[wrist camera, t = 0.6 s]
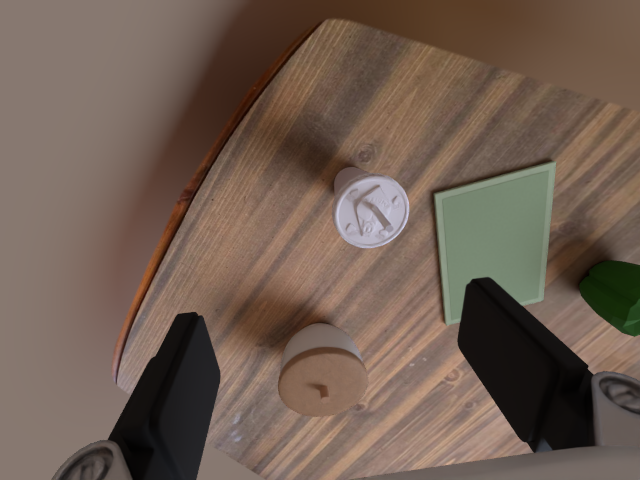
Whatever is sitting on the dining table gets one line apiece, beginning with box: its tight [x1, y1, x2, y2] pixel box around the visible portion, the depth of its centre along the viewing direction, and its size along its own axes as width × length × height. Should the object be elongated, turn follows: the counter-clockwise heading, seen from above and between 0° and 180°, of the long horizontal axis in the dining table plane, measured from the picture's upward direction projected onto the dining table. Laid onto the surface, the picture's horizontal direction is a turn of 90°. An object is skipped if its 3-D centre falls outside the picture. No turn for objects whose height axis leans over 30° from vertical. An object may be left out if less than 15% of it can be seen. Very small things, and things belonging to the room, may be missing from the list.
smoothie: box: [332, 167, 409, 248], centre depth 27 cm, size 6×6×14 cm
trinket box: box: [278, 323, 368, 417], centre depth 39 cm, size 11×11×9 cm
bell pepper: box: [579, 260, 640, 337], centre depth 38 cm, size 8×8×10 cm
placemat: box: [433, 161, 556, 326], centre depth 39 cm, size 20×14×1 cm
